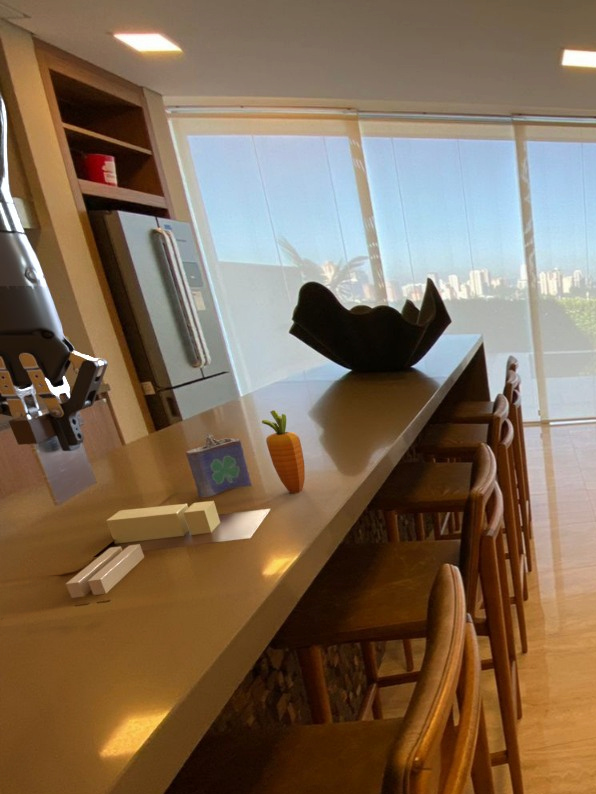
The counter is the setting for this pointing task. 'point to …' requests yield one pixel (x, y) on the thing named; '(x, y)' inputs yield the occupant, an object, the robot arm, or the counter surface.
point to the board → (227, 530)
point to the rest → (105, 572)
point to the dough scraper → (54, 456)
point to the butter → (148, 523)
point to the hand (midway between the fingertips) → (59, 449)
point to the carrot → (286, 454)
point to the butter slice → (202, 517)
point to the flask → (218, 466)
